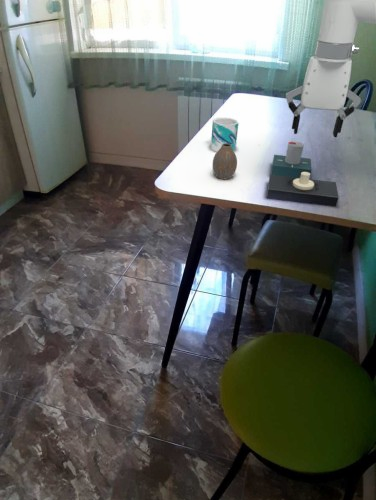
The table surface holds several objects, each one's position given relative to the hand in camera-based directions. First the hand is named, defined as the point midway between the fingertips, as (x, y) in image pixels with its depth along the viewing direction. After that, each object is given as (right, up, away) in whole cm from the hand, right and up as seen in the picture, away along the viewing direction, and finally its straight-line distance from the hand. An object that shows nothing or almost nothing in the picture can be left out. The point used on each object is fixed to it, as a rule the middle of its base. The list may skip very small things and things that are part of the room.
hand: (314, 133), depth 102 cm
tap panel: (-1, -1, +21) cm, 21 cm away
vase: (-21, -4, +16) cm, 27 cm away
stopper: (-1, -12, +9) cm, 15 cm away
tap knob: (-1, +1, +18) cm, 19 cm away
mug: (-20, +13, +35) cm, 42 cm away
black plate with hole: (-1, -12, +9) cm, 15 cm away
